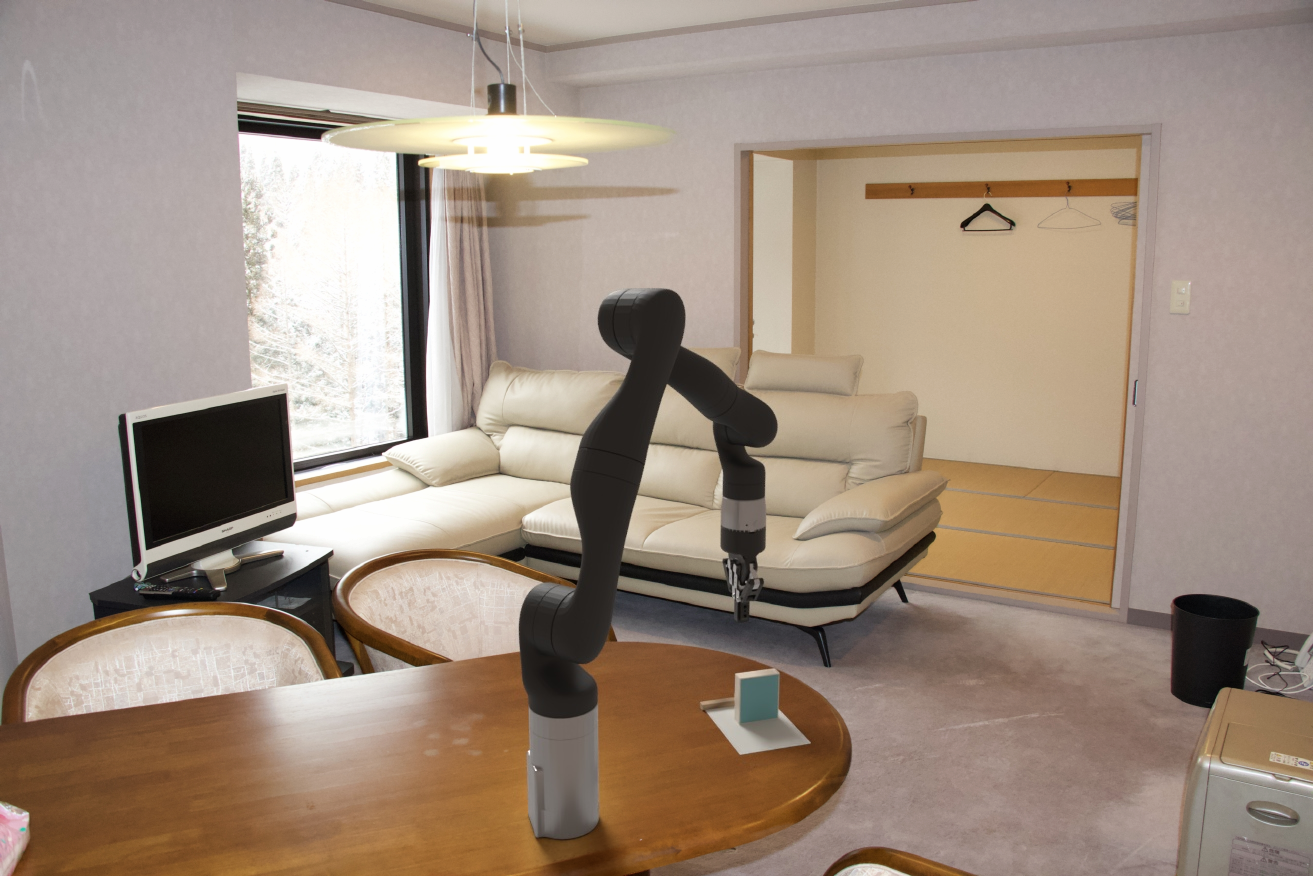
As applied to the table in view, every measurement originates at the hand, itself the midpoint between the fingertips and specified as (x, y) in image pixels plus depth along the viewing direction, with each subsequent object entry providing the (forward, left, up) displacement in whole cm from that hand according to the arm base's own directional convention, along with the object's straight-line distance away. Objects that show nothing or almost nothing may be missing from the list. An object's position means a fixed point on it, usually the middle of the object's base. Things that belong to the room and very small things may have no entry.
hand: (741, 620), depth 163 cm
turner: (-1, -1, -14) cm, 14 cm away
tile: (0, -7, -14) cm, 16 cm away
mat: (-1, -8, -15) cm, 17 cm away
